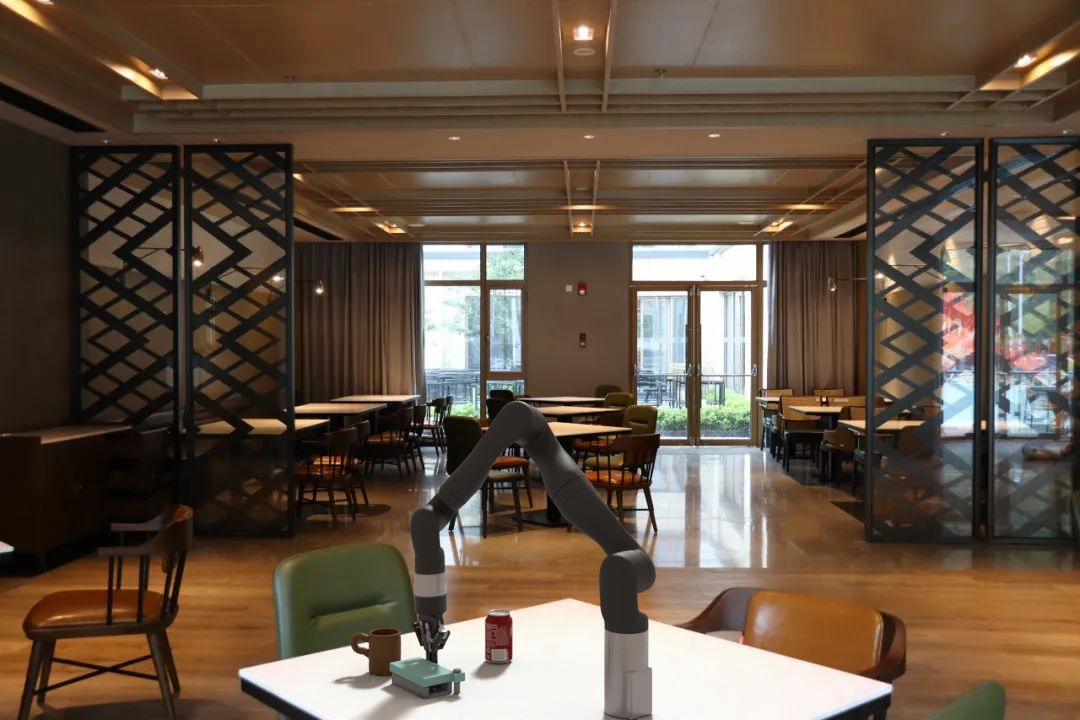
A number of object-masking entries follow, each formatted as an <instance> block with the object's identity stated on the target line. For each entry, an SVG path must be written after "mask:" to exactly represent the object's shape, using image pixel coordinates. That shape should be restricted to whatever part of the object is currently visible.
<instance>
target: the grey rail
mask: <svg viewBox="0 0 1080 720" xmlns="http://www.w3.org/2000/svg"><path fill="white" fill-rule="evenodd" d="M391 684H392V685H394V686H396V687H398V688H401V689H403V690H405V691H407V692H409V693H411V694H413V695H416V696H417V697H420V698H422V699H423V700H427V699H432V698H435V697H441V696H445V695H449V694H451V693H453V694H457V695H458V694H460V693H461V682H458V683H454V682H452V681H450V682H446V683H442V684H437V685H433V686H428V687H422V686H420V685H418V684H416V683H414V682H412V681H410V680H407V679H405V678H403V677H401V676H399V675H397V674H395V673H392V675H391Z"/></svg>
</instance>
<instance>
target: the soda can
mask: <svg viewBox="0 0 1080 720" xmlns="http://www.w3.org/2000/svg"><path fill="white" fill-rule="evenodd" d="M513 622H514V621H513V617H512V616H511V612H510V611H509V610H507V609H492V610H489V611H487V615H486V617H485V619H484V659H485V661H486V662H488V663H490V664H493V665H504V664H507V663H509V662H510V661H512V660H513V657H514V656H513V647H514V646H513V640H514V639H513V638H514V637H513V624H514V623H513Z"/></svg>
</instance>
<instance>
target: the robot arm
mask: <svg viewBox="0 0 1080 720" xmlns="http://www.w3.org/2000/svg"><path fill="white" fill-rule="evenodd" d="M514 443H515V444H517V445H519V446H520V447H521V448H522V449H523V450H524V451H525V452H526V453H527V455H528V456H529V457H530V458H531V460H532V461H533V462H534V464H535V465H536V466H537V469H538V471H539V472H540V475H541V479H542V482H543V485H544V487H545V490H546V492H547V494H548V496H549V498H550V499H551V501H552V503H553V504H554V506H556V508H557V509H558V511H559V513H560V514H561V516H562V517H564V518H565V520H566V521H567V522H568V523H570V524H571V525H572V526H573V527H575V528H576V529H577V530H579V532H581V533H583V534H584V535H586V536H587V537H588V538H590V539H591V540H593V541H594V542H595V543H596V544H597V545H598V546H599V547H600V548H601V549H602V550H603V552H604V553H605V554H606V557H605V558H604V559H603V561H602V562H601V565H600V568H599V573H598V584H599V585H598V586H599V587H598V588H599V589H598V590H599V604H600V605H599V607H600V608H599V609H600V613H601V616H602V619H603V626H604V628H603V630H604V633H603V634H604V635H603V637H604V639H603V640H604V643H603V644H604V645H603V646H604V648H603V650H604V651H603V653H604V654H603V655H604V658H603V659H604V664H603V665H604V670H603V671H604V675H603V677H604V678H603V679H604V681H603V683H604V688H603V690H604V693H603V695H604V707H603V708H604V709H603V710H604V713H605V714H607V715H609V716H612V717H614V718H621V719H628V720H636V719H639V718H642V717H645V716H648V715H651V714H652V715H653V669H652V667H651V666H649V643H650V642H649V637H650V636H649V629H650V628H649V616H648V614H646V613H645V612H643V611H641V610H640V609H639V604H638V603H639V601H638V594H641V593H643V592H647V591H648V590H650V589H651V588H652V587H653V586H654V584H655V582H656V577H657V576H656V575H657V573H656V572H657V571H656V567H655V565H654V564H655V563H654V561H653V560H652V558H651V557H650V555H649V554H648V552H646V550H645V549H644V548H643V547H642V546H641V544H639V542H637V540H635V539H634V537H633V536H632V535H631V533H630V532H629V531H627V529H625V528H626V527H624V526H623V524H622V523H621V521H619V519H618V518H617V517H616V515H615V514H614V513H613V511H612V510H611V508H610V507H609V506H608V504H607V503H606V502H605V501H604V500H603V499H602V496H601V495H600V494H599V492H598V490H596V488H595V486H594V485H593V483H592V482H591V481H590V480H589V479H588V477H587V475H586V474H585V473H584V472H583V471H582V469H581V467H579V466H578V464H577V463H576V462H575V460H574V459H573V458H572V457H571V456H570V454H569V453H568V452H567V451H566V450H565V449H564V448H563V446H562V445H561V444H560V442H559V440H558V439H557V437H556V435H555V433H554V431H553V430H552V428H551V427H550V425H549V423H548V421H547V420H546V417H545V416H544V414H543V413H542V412H541V411H540V410H539V409H538V408H536V407H534V406H532V405H531V404H528V403H527V402H524V401H520V400H515V401H514V400H513V401H510V402H508V403H506V404H505V405H504V406H503V407H501V409H500V411H499V412H498V413H497V415H495V417H494V419H493V420H492V421H491V424H490V425H489V426H488V428H487V429H486V431H485V432H484V434H483V435H482V436H481V438H480V439H479V441H478V442H477V443H476V445H475V446H474V448H473V449H472V451H471V452H470V453H469V454H468V455H467V456H466V457H465V459H464V460H463V462H462V463H460V465H459V466H458V467H457V468H456V469H455V470H454V471H453V472H452V473H451V474H450V475H449V477H447V479H446V480H445V481H444V482H443V483H442V484H441V485H440V487H439V488H438V490H437V493H436V494H435V495H434V496H433V497H432V498H431V499H430V500H429V501H428V502H427V503H426V504H425V505H423V506H421V507H419V508H417V509H416V510H415V511H414V512H413V513H412V516H411V518H410V523H409V524H410V525H409V526H410V527H409V529H410V537H411V543H412V547H413V552H414V579H413V598H414V599H413V603H414V604H413V605H414V613H415V614H416V615H418V616H417V618H418V620H417V621H416V622H413V623H412V628H413V629H414V630H413V631H414V633H415V636H416V638H417V641H418V643H419V647H423V650H424V651H425V659H426V660H429V661H431V662H433V663H435V664H438V665H439V662H438V658H439V656H438V655H439V654H438V652H439V651H440V650H443V649H444V648H445V645H446V643H447V641H448V639H449V638H450V635H451V630H450V629H446V627H445V620H444V617H443V616H444V614H445V613H446V612H447V611H448V601H447V600H448V597H447V596H448V593H447V592H448V591H447V577H446V576H447V575H446V557H445V556H446V555H445V551H444V548H443V547H442V546H441V537H440V536H441V535H440V534H441V533H440V532H441V531H443V530H444V529H445V528H446V526H447V525H448V524H449V523H450V522H451V521H452V520H453V518H454V517H455V516H456V514H457V513H458V512H459V510H460V509H461V508H462V507H464V506H465V505H466V504H467V503H468V502H469V501H470V500H471V499H472V497H474V496H475V494H476V493H477V492H478V491H479V490H480V488H482V486H483V484H484V483H485V481H486V480H487V478H488V475H489V474H490V472H491V470H492V467H493V466H494V464H495V462H496V461H497V459H498V458H499V457H500V456H501V455H502V454H503V452H504V451H506V450H507V449H508V448H509V447H510V446H511V445H513V444H514Z"/></svg>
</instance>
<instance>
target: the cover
mask: <svg viewBox="0 0 1080 720" xmlns="http://www.w3.org/2000/svg"><path fill="white" fill-rule="evenodd" d="M390 671H391V672H393V673H395V674H397V675H399V676H401V677H403V678H405V679H407V680H410V681H412V682H414V683H416V684H418V685H420V686H422V687H428V686H433V685H437V684H442V683H446V682H450V681H452V683H453V684H454V683H458V682H460V683H461V682H466V672H465V671H462V669H461V668H460V667H459V668H457V667H455V668H453V669H449V668H446V667H444V666H443V665H440V664H439V663H438V664H435V663H433V662H431V661H429V660H426V658H423V657H422V656H417V657H416V656H415V657H413V658H407V659H401V661H397V662H392V663H390Z"/></svg>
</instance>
